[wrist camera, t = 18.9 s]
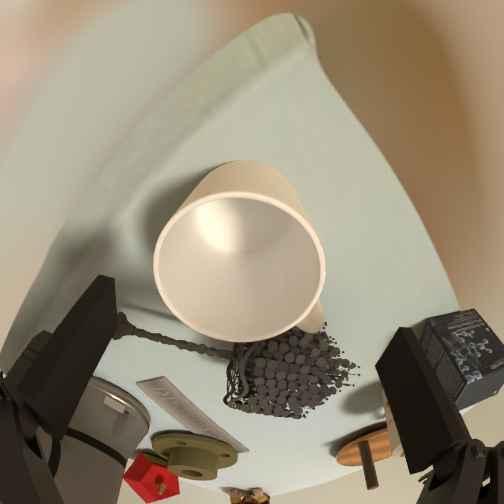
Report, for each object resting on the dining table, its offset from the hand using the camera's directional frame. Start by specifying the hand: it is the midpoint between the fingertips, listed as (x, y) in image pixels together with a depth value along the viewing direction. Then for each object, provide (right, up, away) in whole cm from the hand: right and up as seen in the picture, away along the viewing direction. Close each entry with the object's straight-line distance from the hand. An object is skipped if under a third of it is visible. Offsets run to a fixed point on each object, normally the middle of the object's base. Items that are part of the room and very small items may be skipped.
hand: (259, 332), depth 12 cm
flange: (-3, -31, +26) cm, 40 cm away
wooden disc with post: (+22, -32, +27) cm, 47 cm away
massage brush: (-2, -9, +9) cm, 13 cm away
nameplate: (-6, -21, +24) cm, 32 cm away
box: (+23, -6, +17) cm, 29 cm away
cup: (0, +6, +11) cm, 13 cm away
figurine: (+1, -62, +43) cm, 76 cm away
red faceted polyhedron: (-24, -45, +33) cm, 61 cm away
